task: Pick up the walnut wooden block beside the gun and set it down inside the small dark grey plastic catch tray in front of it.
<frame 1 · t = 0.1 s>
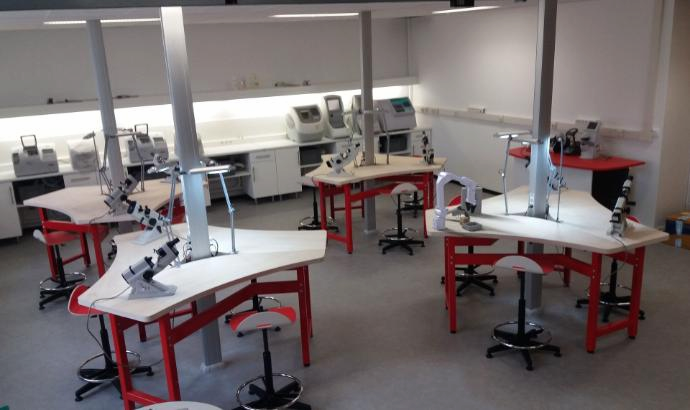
hand: (470, 211, 453), 10 cm above the table, tool pointing down, fingers open, 7 cm apart
walnut block: (464, 225, 453), on the table
gun: (452, 220, 468), on the table
grey upright panel: (471, 213, 485), on the table
catch tray: (472, 228, 443), on the table
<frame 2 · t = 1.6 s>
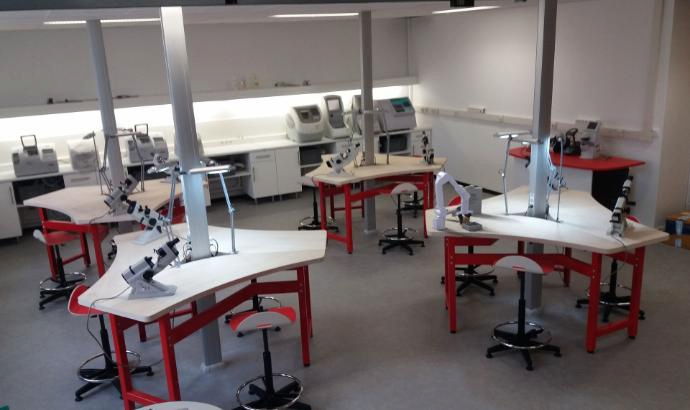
hand: (464, 222, 452), 2 cm above the table, tool pointing down, fingers closed on walnut block, 5 cm apart
walnut block: (464, 224, 453), on the table, touching gripper
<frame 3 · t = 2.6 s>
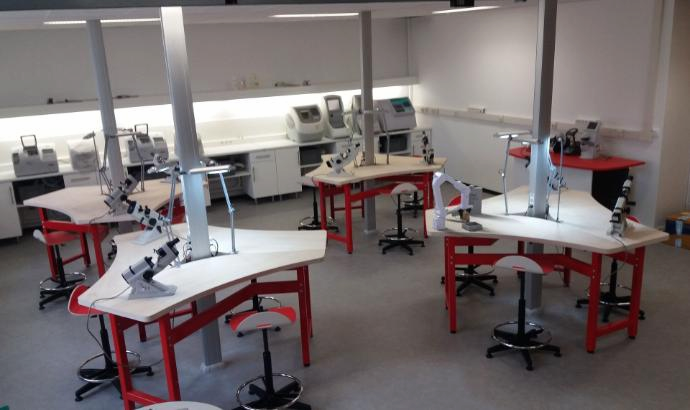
hand: (464, 217, 451), 6 cm above the table, tool pointing down, fingers closed on walnut block, 5 cm apart
walnut block: (464, 219, 452), point 4 cm above the table, touching gripper
everything else where it was.
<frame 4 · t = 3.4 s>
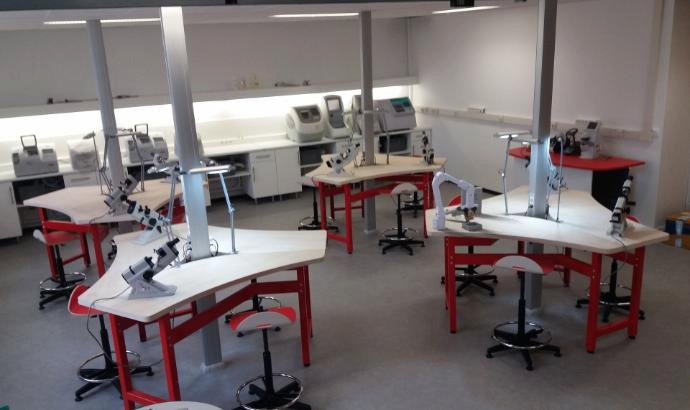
hand: (469, 216, 444), 8 cm above the table, tool pointing down, fingers closed on walnut block, 5 cm apart
walnut block: (469, 219, 445), point 7 cm above the table, touching gripper
everything else where it was.
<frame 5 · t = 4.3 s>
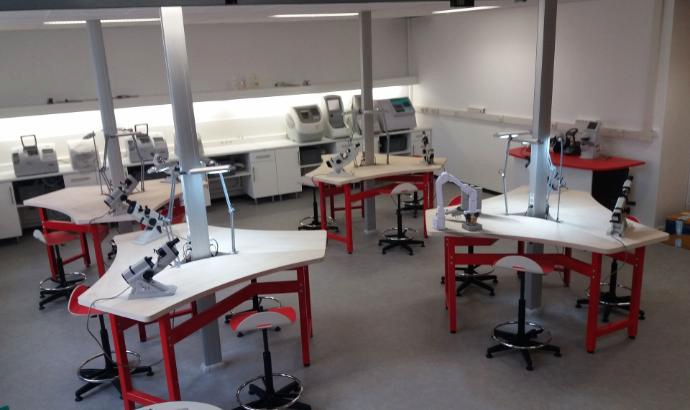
hand: (472, 222, 441), 5 cm above the table, tool pointing down, fingers closed on walnut block, 5 cm apart
walnut block: (471, 224, 442), point 3 cm above the table, touching gripper
everything else where it was.
when the fingers open (4 cm above the table, at t = 5.1 s): walnut block stays where it is, resting on catch tray.
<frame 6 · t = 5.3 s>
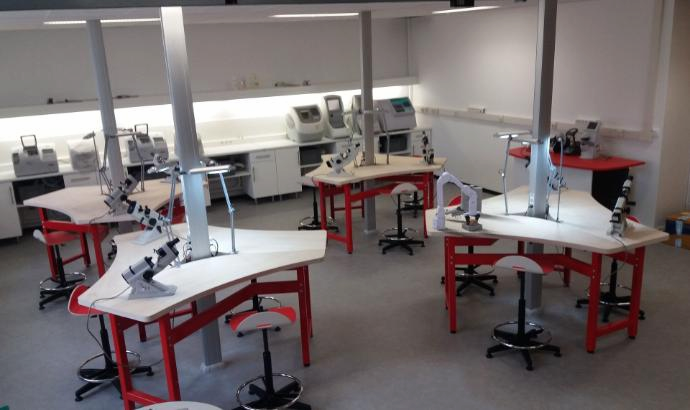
hand: (472, 224, 442), 4 cm above the table, tool pointing down, fingers open, 7 cm apart
walnut block: (471, 227, 443), point 1 cm above the table, touching catch tray
everything else where it was.
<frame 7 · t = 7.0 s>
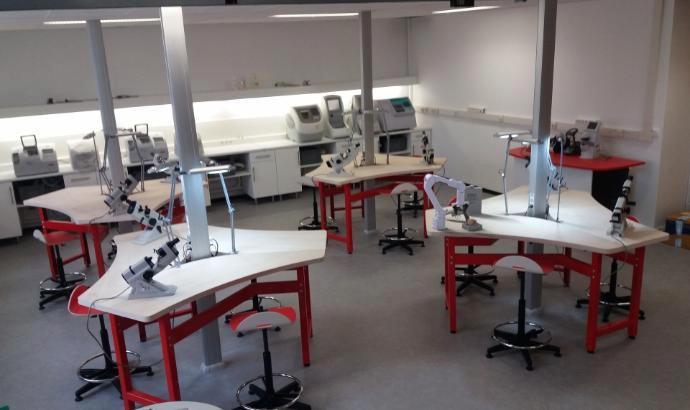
hand: (460, 214, 445), 10 cm above the table, tool pointing down, fingers open, 7 cm apart
nothing on the table moved.
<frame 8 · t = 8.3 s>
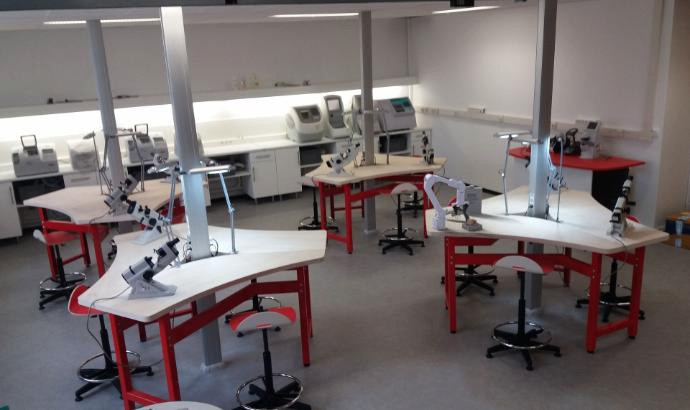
hand: (460, 214, 445), 10 cm above the table, tool pointing down, fingers open, 7 cm apart
nothing on the table moved.
at the end: walnut block 0.3 cm off-centre on the catch tray, point 0.8 cm above the catch tray's base; walnut block tilted 0°; the gripper is holding nothing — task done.
